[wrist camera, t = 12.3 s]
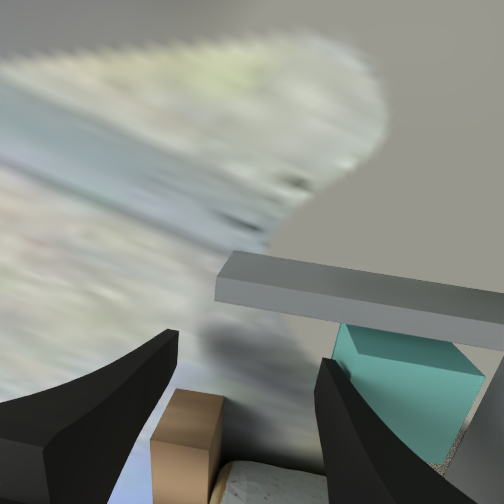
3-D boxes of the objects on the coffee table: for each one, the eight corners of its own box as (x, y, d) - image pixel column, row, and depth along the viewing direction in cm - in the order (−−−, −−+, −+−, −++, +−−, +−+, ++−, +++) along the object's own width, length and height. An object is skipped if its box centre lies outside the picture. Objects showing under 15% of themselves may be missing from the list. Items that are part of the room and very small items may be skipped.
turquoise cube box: (411, 408, 15) (442, 464, 12) (322, 391, 15) (331, 442, 12) (441, 333, 13) (485, 376, 10) (342, 315, 13) (358, 353, 11)
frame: (400, 595, 19) (425, 685, 15) (200, 546, 20) (183, 620, 17) (555, 301, 12) (664, 351, 8) (233, 250, 13) (216, 276, 10)
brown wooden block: (217, 520, 19) (203, 593, 16) (178, 512, 20) (156, 582, 16) (224, 392, 16) (208, 450, 12) (177, 385, 16) (149, 439, 13)
